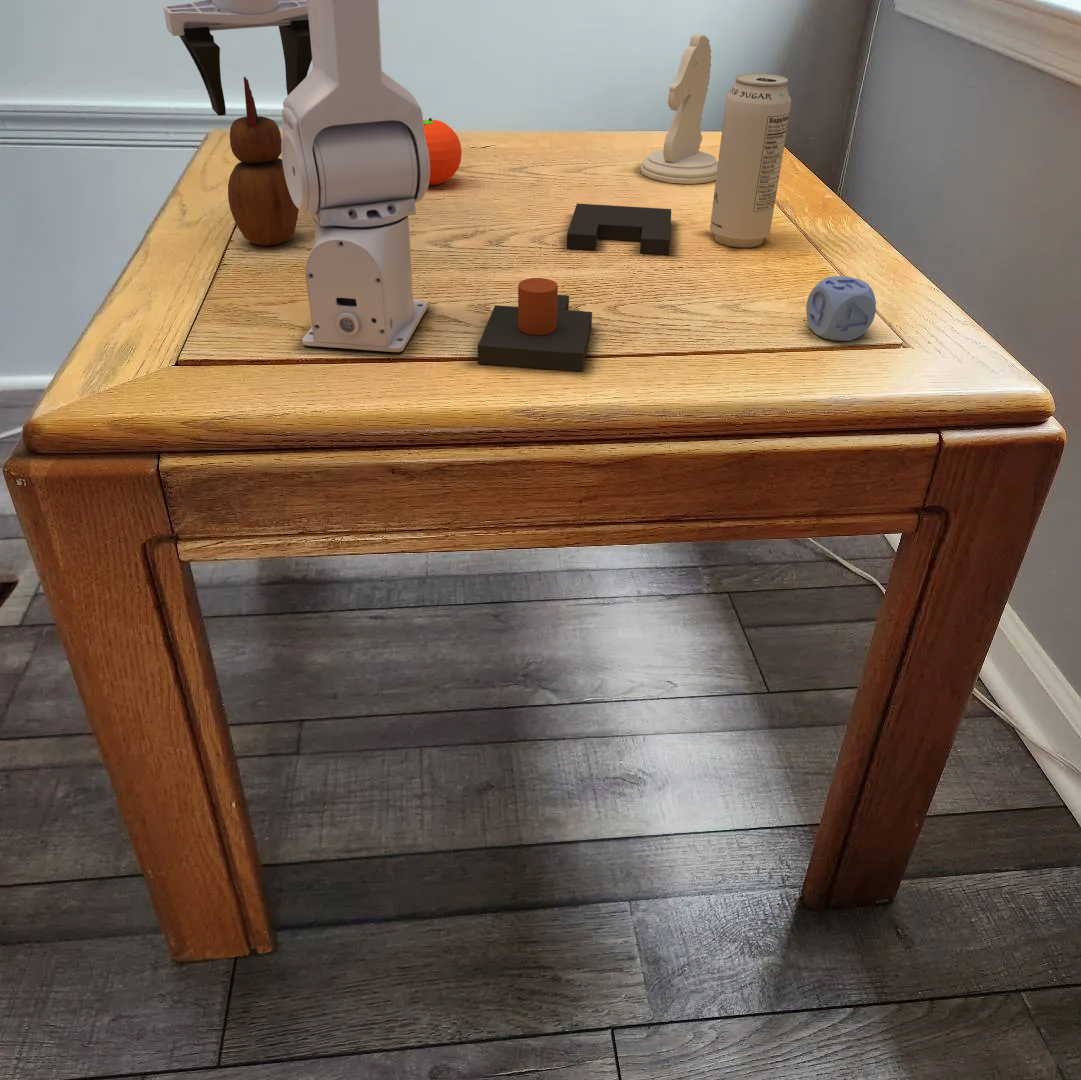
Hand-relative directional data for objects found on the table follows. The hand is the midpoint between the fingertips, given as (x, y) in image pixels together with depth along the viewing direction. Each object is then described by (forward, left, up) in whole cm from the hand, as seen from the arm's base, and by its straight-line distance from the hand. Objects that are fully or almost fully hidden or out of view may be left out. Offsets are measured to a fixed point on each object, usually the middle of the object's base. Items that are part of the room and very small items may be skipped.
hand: (257, 107), depth 94 cm
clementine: (+14, -13, -11) cm, 23 cm away
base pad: (0, -36, -11) cm, 38 cm away
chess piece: (+25, -42, -11) cm, 51 cm away
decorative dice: (-21, -55, -11) cm, 60 cm away
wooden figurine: (-8, -2, -11) cm, 13 cm away
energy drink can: (+1, -48, -11) cm, 50 cm away
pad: (-26, -31, -11) cm, 42 cm away
